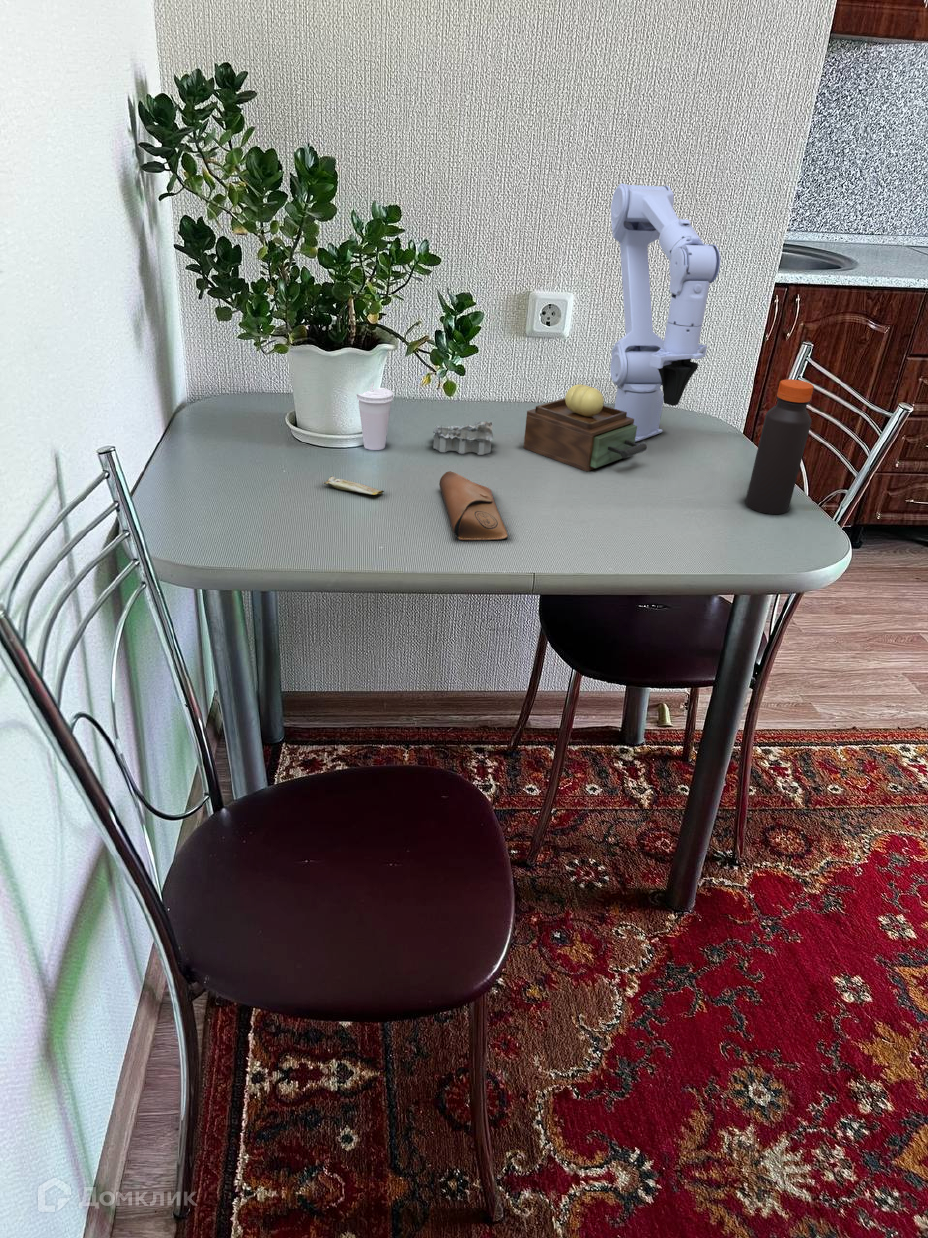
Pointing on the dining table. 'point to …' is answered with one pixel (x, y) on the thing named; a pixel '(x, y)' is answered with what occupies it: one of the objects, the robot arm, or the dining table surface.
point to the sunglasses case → (471, 509)
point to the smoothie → (375, 416)
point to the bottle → (780, 449)
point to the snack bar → (351, 486)
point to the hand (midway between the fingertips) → (670, 403)
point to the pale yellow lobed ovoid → (584, 400)
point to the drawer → (615, 445)
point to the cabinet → (566, 436)
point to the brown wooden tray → (545, 410)
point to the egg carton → (464, 438)
